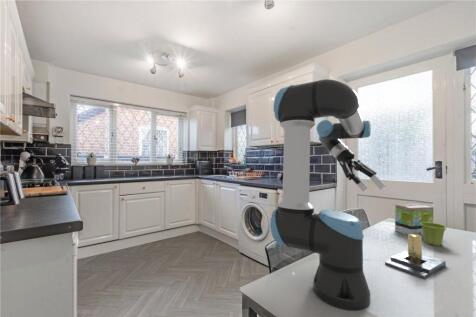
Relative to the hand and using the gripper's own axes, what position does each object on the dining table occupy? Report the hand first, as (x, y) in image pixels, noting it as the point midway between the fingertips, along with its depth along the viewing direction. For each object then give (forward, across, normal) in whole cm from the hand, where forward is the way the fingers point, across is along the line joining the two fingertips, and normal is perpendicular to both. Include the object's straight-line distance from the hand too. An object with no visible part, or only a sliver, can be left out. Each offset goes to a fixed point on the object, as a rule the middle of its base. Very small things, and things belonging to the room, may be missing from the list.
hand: (374, 188), depth 96 cm
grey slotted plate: (+29, -2, -9) cm, 31 cm away
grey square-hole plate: (+29, +2, -9) cm, 31 cm away
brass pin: (+29, 0, -9) cm, 31 cm away
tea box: (+17, -45, -22) cm, 53 cm away
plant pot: (+25, -34, -13) cm, 44 cm away
